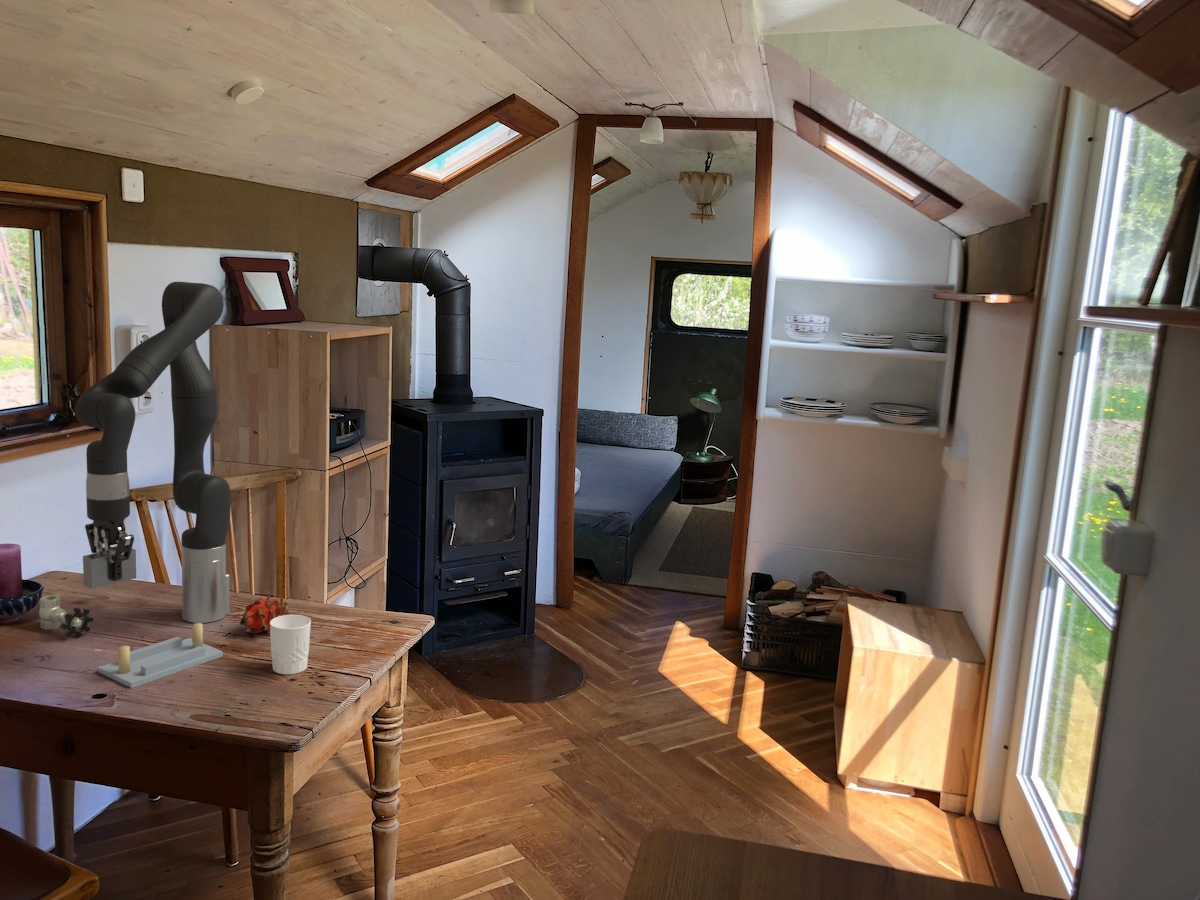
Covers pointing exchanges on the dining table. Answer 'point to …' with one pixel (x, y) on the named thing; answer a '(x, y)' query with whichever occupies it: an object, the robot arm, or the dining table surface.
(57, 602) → the valve
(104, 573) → the gray rectangular block
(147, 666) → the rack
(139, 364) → the robot arm
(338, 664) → the dining table surface
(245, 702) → the dining table surface
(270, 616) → the dragon fruit
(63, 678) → the dining table surface
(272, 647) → the white cup
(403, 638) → the dining table surface
